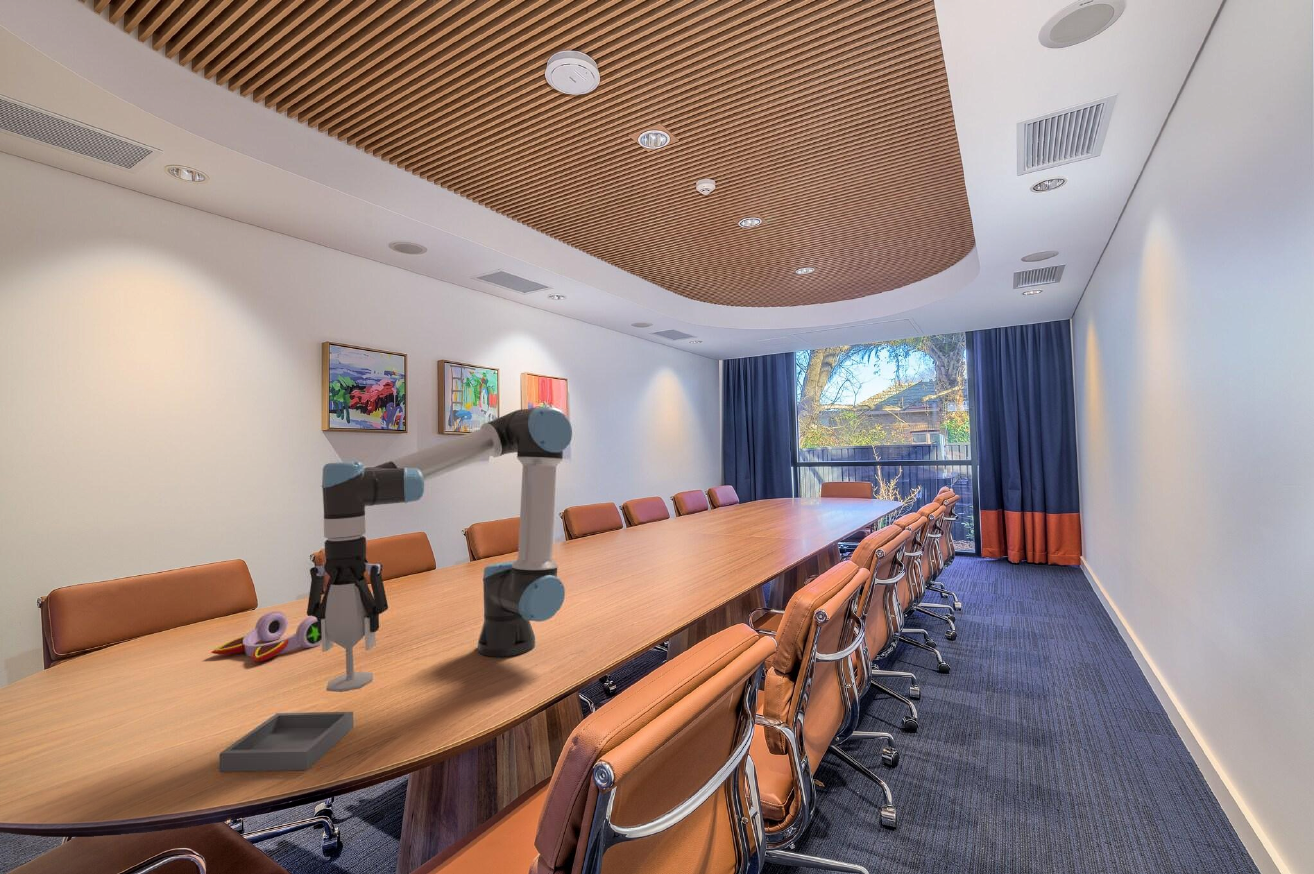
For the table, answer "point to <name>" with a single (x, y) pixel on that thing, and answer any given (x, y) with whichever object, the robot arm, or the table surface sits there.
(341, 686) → the wineglass
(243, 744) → the tray
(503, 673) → the table surface
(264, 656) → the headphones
